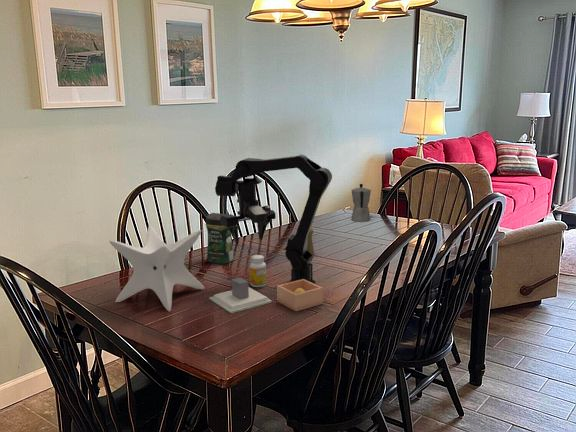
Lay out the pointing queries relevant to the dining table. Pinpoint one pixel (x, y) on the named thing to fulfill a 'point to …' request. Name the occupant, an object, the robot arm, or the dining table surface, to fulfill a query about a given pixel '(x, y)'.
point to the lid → (240, 295)
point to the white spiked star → (158, 266)
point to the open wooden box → (300, 294)
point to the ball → (299, 290)
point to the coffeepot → (361, 204)
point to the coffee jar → (218, 240)
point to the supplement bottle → (258, 271)
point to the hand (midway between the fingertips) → (249, 242)
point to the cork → (310, 242)
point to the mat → (238, 308)
